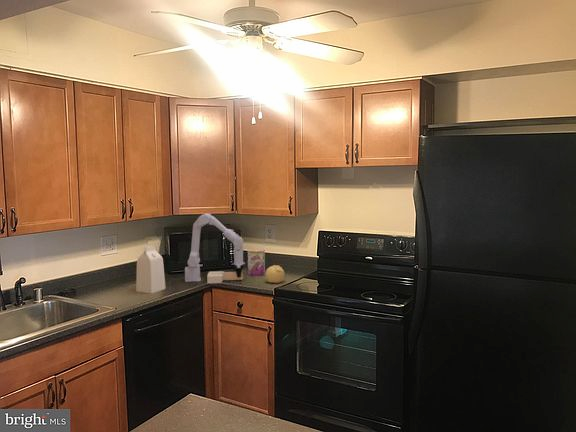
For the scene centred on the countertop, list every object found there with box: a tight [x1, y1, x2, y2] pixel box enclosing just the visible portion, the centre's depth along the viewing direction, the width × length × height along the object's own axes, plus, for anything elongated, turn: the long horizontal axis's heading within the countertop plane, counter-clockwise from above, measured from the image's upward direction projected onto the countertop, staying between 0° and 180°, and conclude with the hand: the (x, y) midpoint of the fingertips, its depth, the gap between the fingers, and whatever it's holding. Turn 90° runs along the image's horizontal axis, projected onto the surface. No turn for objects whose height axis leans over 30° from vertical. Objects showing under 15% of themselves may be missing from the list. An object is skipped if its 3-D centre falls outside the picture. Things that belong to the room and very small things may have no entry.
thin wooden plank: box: [221, 271, 244, 281], centre depth 298 cm, size 14×1×5 cm, turn 95°
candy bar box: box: [247, 249, 266, 276], centre depth 314 cm, size 11×5×16 cm, turn 84°
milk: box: [135, 245, 166, 294], centre depth 274 cm, size 12×12×26 cm
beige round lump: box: [264, 264, 285, 284], centre depth 291 cm, size 12×12×11 cm
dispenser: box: [206, 270, 225, 284], centre depth 297 cm, size 10×14×4 cm
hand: (239, 277), depth 298 cm, fingers closed, pressing on thin wooden plank
